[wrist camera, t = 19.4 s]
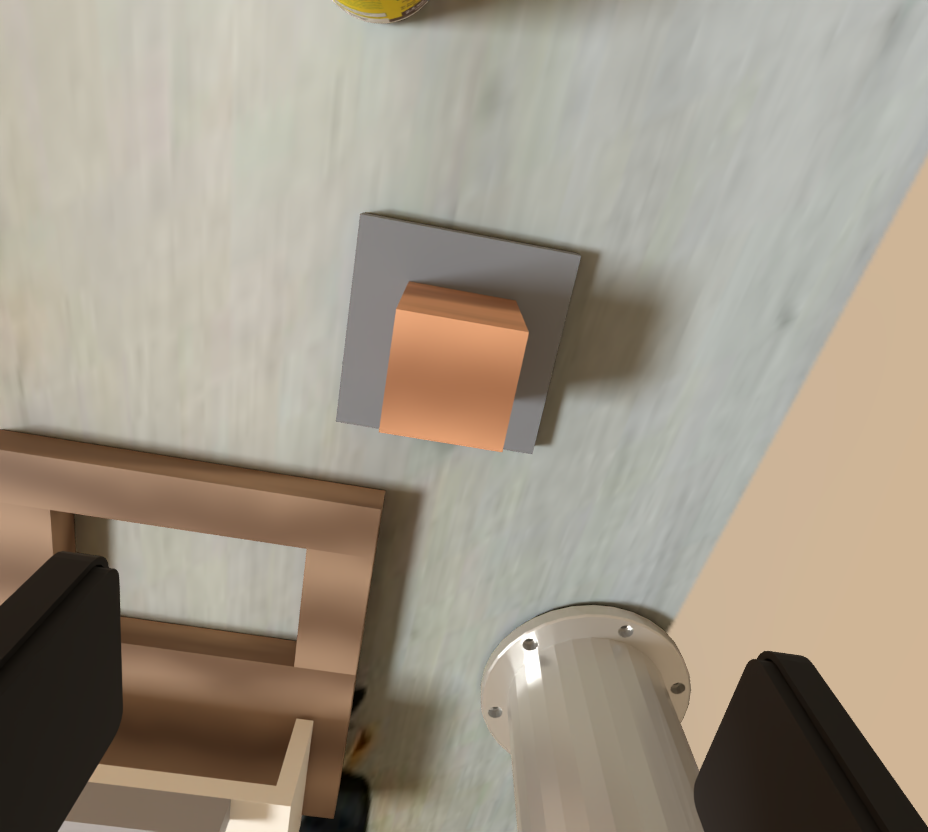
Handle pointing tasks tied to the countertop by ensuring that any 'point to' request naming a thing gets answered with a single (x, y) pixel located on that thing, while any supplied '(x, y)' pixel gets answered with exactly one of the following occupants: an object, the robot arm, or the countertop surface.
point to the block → (453, 367)
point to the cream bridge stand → (193, 798)
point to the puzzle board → (199, 649)
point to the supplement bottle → (380, 9)
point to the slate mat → (460, 268)
